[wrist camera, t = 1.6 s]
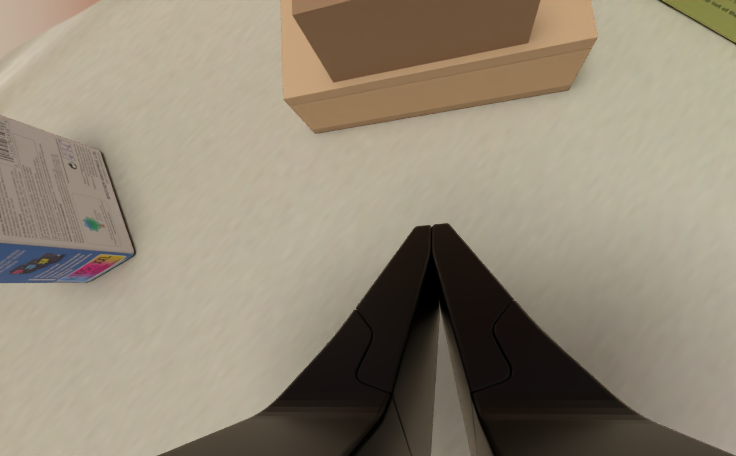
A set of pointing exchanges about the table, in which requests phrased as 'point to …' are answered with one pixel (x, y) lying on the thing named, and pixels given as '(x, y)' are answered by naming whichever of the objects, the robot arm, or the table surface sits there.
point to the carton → (445, 93)
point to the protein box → (710, 14)
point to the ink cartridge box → (55, 209)
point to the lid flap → (418, 40)
